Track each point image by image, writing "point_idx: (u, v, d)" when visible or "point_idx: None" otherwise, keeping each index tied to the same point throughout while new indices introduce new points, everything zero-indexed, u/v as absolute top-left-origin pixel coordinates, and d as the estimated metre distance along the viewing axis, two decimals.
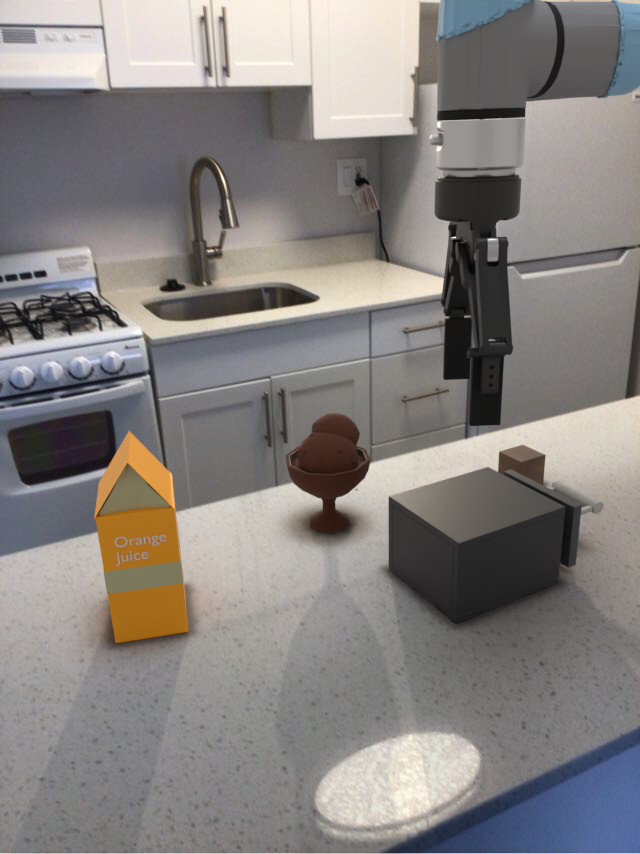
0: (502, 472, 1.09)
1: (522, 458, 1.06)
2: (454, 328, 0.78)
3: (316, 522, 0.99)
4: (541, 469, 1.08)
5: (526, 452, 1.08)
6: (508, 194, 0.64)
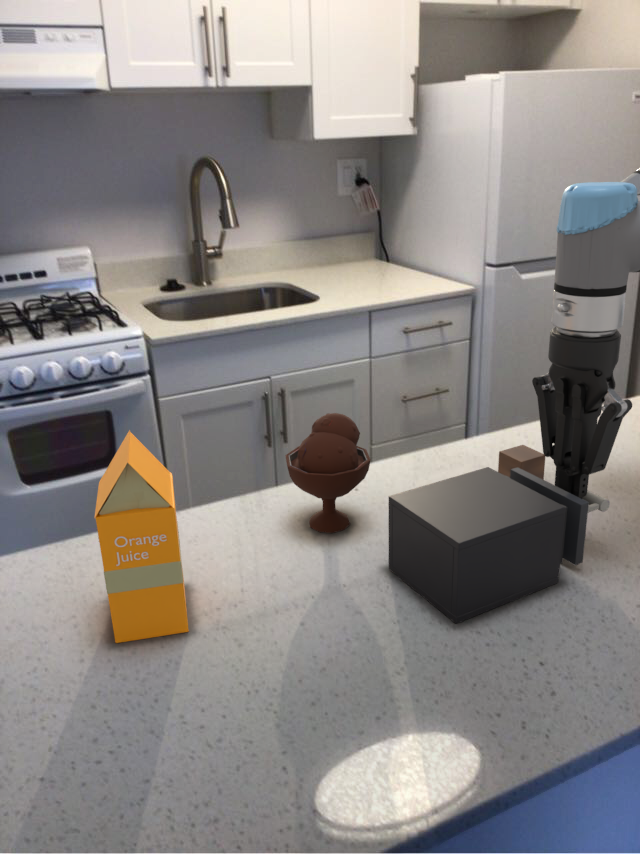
0: (502, 472, 1.09)
1: (522, 458, 1.06)
2: None
3: (316, 522, 0.99)
4: (541, 469, 1.08)
5: (526, 452, 1.08)
6: (619, 346, 0.83)
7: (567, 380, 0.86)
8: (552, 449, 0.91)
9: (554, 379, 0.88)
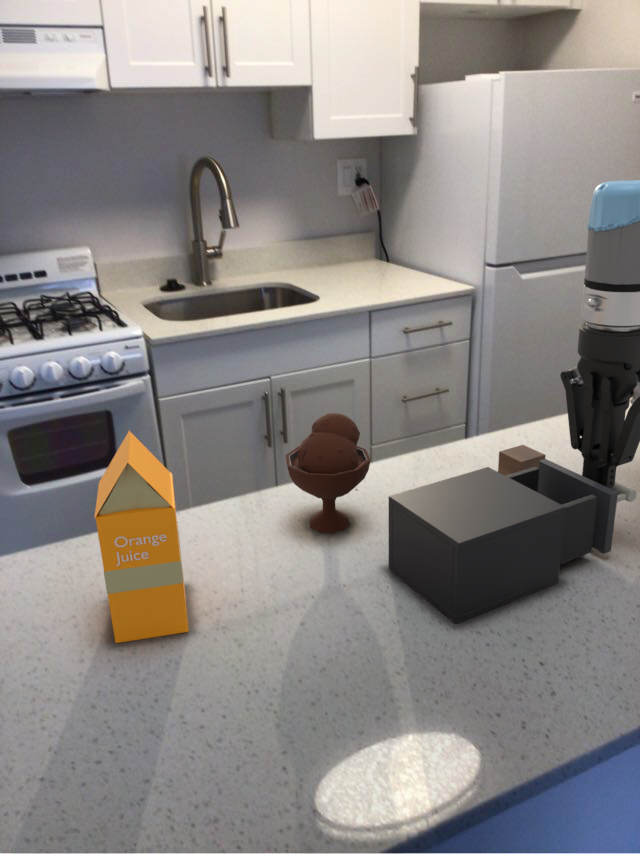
0: (502, 472, 1.09)
1: (522, 458, 1.06)
2: None
3: (316, 522, 0.99)
4: None
5: (526, 452, 1.08)
6: None
7: (596, 374, 0.88)
8: (580, 441, 0.93)
9: (583, 373, 0.90)
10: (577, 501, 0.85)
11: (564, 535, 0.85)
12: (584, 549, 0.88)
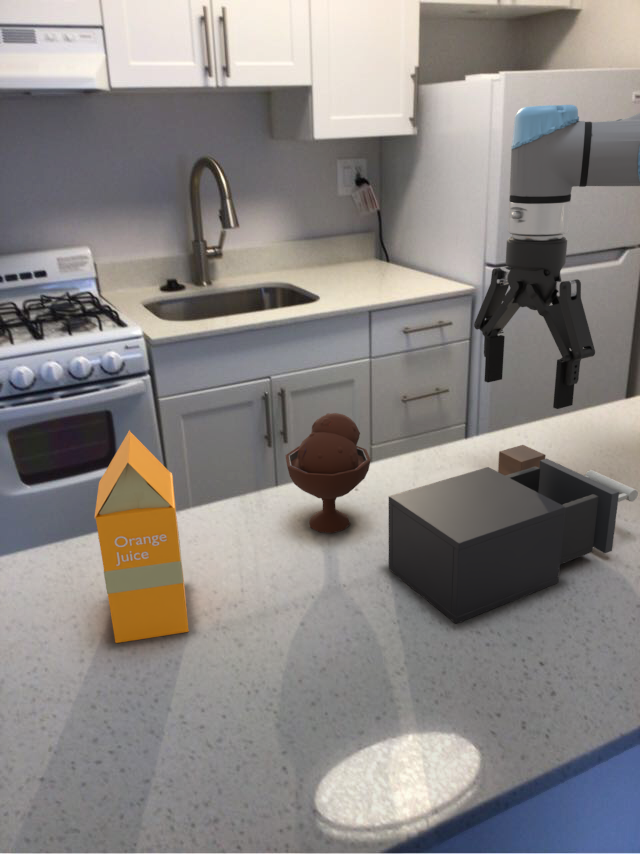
0: (502, 472, 1.09)
1: (522, 458, 1.06)
2: (494, 344, 1.08)
3: (316, 522, 0.99)
4: None
5: (526, 452, 1.08)
6: (565, 250, 0.96)
7: (522, 286, 0.99)
8: (482, 325, 1.09)
9: (509, 282, 1.02)
10: (578, 501, 0.85)
11: (566, 535, 0.85)
12: (585, 549, 0.88)
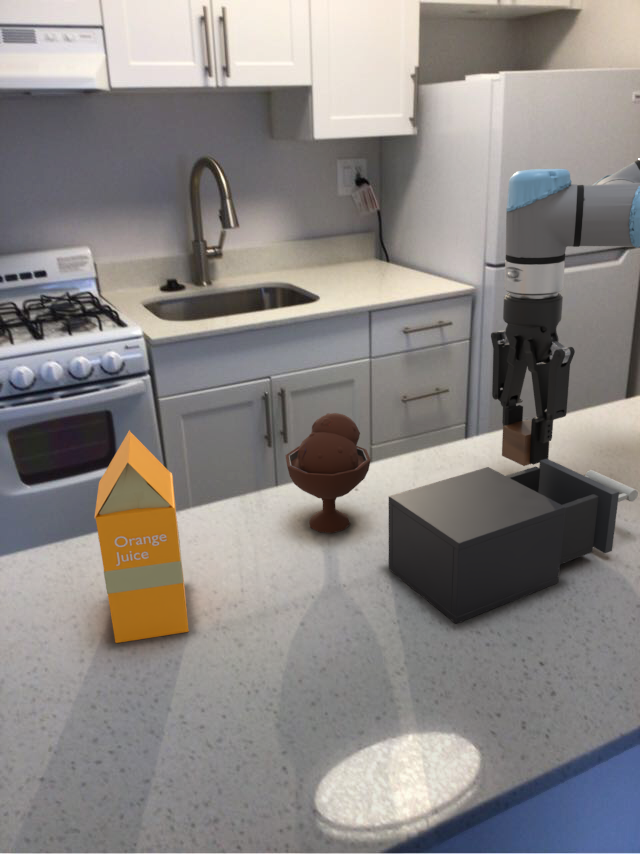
0: (506, 447, 1.08)
1: (527, 431, 1.05)
2: (513, 415, 1.08)
3: (316, 522, 0.99)
4: None
5: (530, 426, 1.06)
6: (561, 307, 0.99)
7: (520, 338, 1.02)
8: (499, 393, 1.09)
9: (508, 337, 1.04)
10: (578, 501, 0.85)
11: (566, 535, 0.85)
12: (585, 549, 0.88)
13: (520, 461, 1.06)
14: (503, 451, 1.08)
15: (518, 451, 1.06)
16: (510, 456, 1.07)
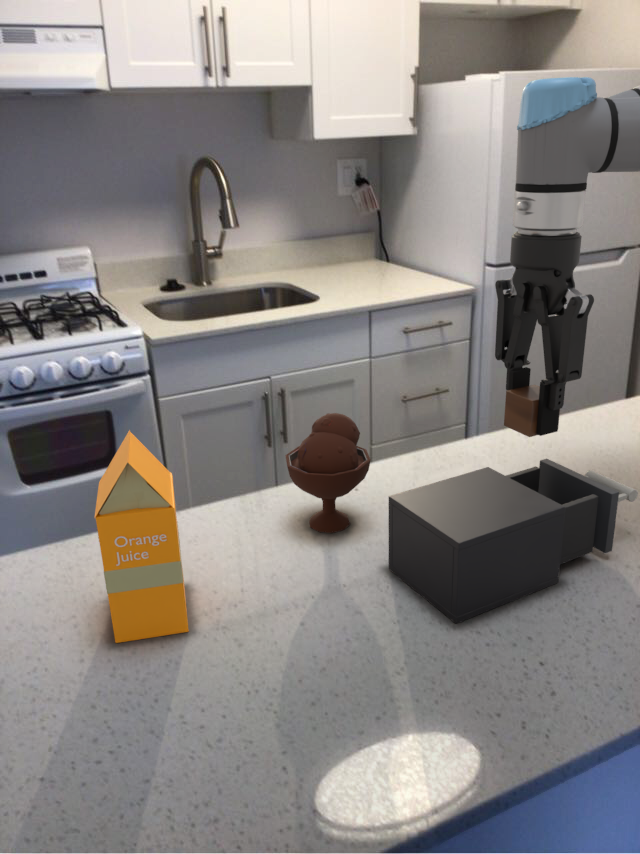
0: (509, 415, 0.92)
1: (534, 397, 0.89)
2: (518, 378, 0.92)
3: (316, 522, 0.99)
4: None
5: (538, 392, 0.91)
6: (579, 247, 0.83)
7: (529, 285, 0.86)
8: (503, 353, 0.93)
9: (516, 285, 0.89)
10: (578, 501, 0.85)
11: (566, 535, 0.85)
12: (585, 549, 0.88)
13: (525, 431, 0.90)
14: (505, 420, 0.93)
15: (522, 420, 0.90)
16: (513, 426, 0.92)
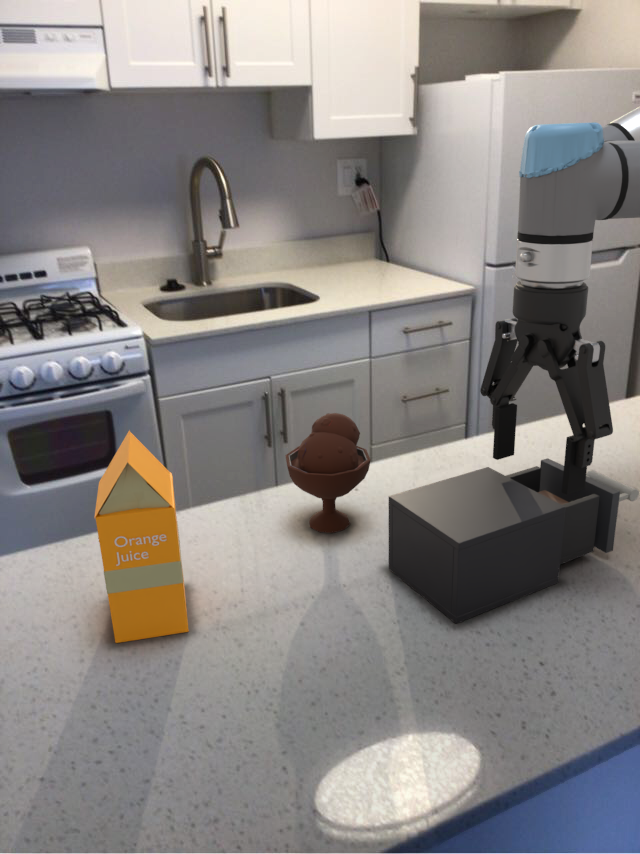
0: None
1: None
2: (505, 415, 0.89)
3: (316, 522, 0.99)
4: None
5: None
6: (586, 299, 0.78)
7: (533, 340, 0.82)
8: (489, 391, 0.90)
9: (517, 336, 0.84)
10: (579, 500, 0.85)
11: (567, 535, 0.86)
12: (586, 548, 0.88)
13: None
14: None
15: None
16: None
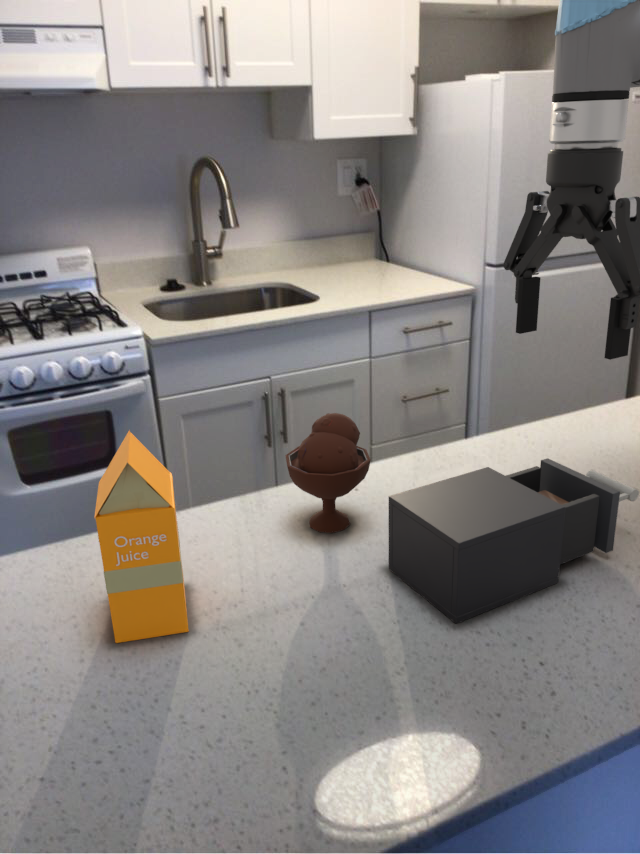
0: None
1: None
2: (528, 286, 0.90)
3: (316, 522, 0.99)
4: None
5: None
6: (621, 162, 0.78)
7: (566, 210, 0.81)
8: (513, 265, 0.91)
9: (549, 208, 0.84)
10: (579, 500, 0.85)
11: (567, 535, 0.86)
12: (586, 548, 0.88)
13: None
14: None
15: None
16: None
